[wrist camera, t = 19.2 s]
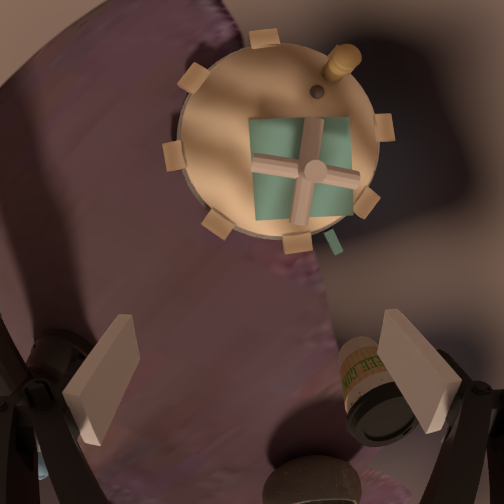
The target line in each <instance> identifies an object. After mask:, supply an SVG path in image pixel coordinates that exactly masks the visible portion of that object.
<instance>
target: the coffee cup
mask: <svg viewBox="0 0 504 504" xmlns="http://www.w3.org/2000/svg"><path fill="white" fill-rule="evenodd" d="M377 350H378V344H377V343H376V342H375V341H374V340H373V339H372V338H370V337H367V336H358V337H354V338H352V339H350V340H349V341H347V342H346V343H345V344H344V345H343V346H342V347H341V349H340V351H339V354H338V360H339V365H340V377H341V384H342V390H343V397H344V403H345V410H346V412H347V416H346V421H345V424H346V428H347V430H348V432H349V434H350V435H351V436H352V437H353V438H354V439H356V440H357V441H358V442H359V443H361V444H362V445H365V446H369V447H380V446H385V445H389V444H391V443H394V442H396V441H398V440H400V439H402V438H403V437H405V436H406V435H408V434H409V433H410V432H411V431H412V430H413V429H414V428H415V427H416V426H417V425H418V424H419V421H418V419H417V418H416V416H415V414H414V413H413V411H412V409H411V408H410V406H409V404H408V403H407V401H406V399H405V398H404V396H403V394H402V393H401V391H400V389H399V388H398V386H397V385H396V383H395V381H394V380H393V378H392V376H391V375H390V373H389V372H388V370H387V368H386V367H385V365H384V364H383V362H382V360H381V359H380V357H379V356H378V354H377Z"/></svg>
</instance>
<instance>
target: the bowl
mask: <svg viewBox="0 0 504 504" xmlns="http://www.w3.org/2000/svg"><path fill="white" fill-rule="evenodd" d="M361 494H362V489H361V482H360V478H359V476H358V474H357V472H356V471H355V469H354V468H353V467H352V466H351V465H350V464H349V463H347V462H346V461H344V460H341V459H338V458H335V457H331V456H325V455H308V456H303V457H299V458H296V459H293V460H291V461H288V462H287V463H285V464H283V465H281V466H280V467H278V468H277V469H276V470H275V471H273V472H272V473H271V474H270V476H269V477H268V479H267V480H266V482H265V484H264V487H263V493H262V499H263V504H359V502H360V500H361Z"/></svg>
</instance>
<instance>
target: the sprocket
mask: <svg viewBox="0 0 504 504" xmlns="http://www.w3.org/2000/svg"><path fill="white" fill-rule="evenodd" d="M248 33H249V41H250V46H251V47H250V48H247V49H244V50H241V51H239V52H237V53H235V54H233V55H230V56H229V57H227V58H225V59H224V60H222V61H221V62H219V63H218V64H217V65H216V66H214V67H213V68H212V69H211V70H210V71H209V70H207V69H206V68H204V67H202V66H200V65H199V64H197V63H195V62H194V63H193V64H192V65H191V66H190V68H189V69H188V70H187V72H186V73H185V74H184V76H183V77H182V78H181V80H180V81H179V82H178V84H177V85H178V86H180V87H181V88H182V89H184V90H185V91H187V92H189V93H190V94H192V95H191V97H190V99H189V101H188V103H187V106H186V109H185V112H184V115H183V120H182V126H181V140H177V141H173V142H168V143H164V144H163V150H164V156H165V162H166V168H167V172H169V171H174V170H179V169H184V168H186V170H187V173H188V176H189V178H190V180H191V182H192V184H193V185H194V187H195V189H196V191H197V192H198V193H199V195H200V196H201V197H202V199H203V200H204V201H205V202H206V203H207V204H208V205H209V206H210V207H211V208H212V209H211V210H210V212H209V213H208V214H207V216H206V217H205V219H204V220H203V222H202V223H201V224H202V225H203V226H205V227H206V228H207V229H209V230H210V231H212V232H213V233H215V234H216V235H217V236H219V237H220V238H222V239H223V240H225V239H226V237H227V236H228V235H229V233H230V232H231V230H232V229H233V228H234V226H235V225H236V226H238V227H240V228H243V229H245V230H248V231H251V232H254V233H258V234H263V235H269V236H282V242H283V250H284V253H285V254H291V253H297V252H304V251H310V250H313V249H312V240H311V232H312V231H315V230H318V229H321V228H323V227H325V226H327V225H329V224H331V223H333V222H334V221H336V220H337V219H339V218H340V217H341V216H347V215H353V212H355V213H356V214H357V215H358V216H359V217H361V218H363V219H365V218H366V217H367V215H368V214H369V213H370V211H371V210H372V209H373V207H374V206H375V205H376V203H377V202H378V201H379V199H380V197H379V196H378V195H377V194H376V193H375V192H373V191H372V190H371V189H370V188H369V187H368V184H369V182H370V180H371V178H372V176H373V172H374V169H375V166H376V162H377V157H378V147H379V142H383V141H395V137H394V129H393V123H392V116H391V114H374V111H373V108H372V106H371V103H370V101H369V99H368V97H367V95H366V93H365V92H364V90H363V89H362V87H361V86H360V85H359V83H358V82H357V81H356V80H355V78H354V77H353V76H352V75H351V74H350V73H351V72H352V71H353V69H354V68H355V67H356V66H357V65H358V64H359V63H360V62H361V53H360V51H359V50H358V49H357V48H356V47H355V46H353V45H351V44H342V45H340V46H339V45H336V47H335V48H334V49H333V50H332V51H331V52H330V54H329V55H328V56H325V55H323V54H321V53H319V52H317V51H314V50H312V49H309V48H306V47H301V46H297V45H291V44H280V40H279V35H278V31H277V28H272V29H263V30H255V31H249V32H248ZM307 116H310V117H317V118H321V119H323V120H324V126H323V133H322V140H321V147H320V153H319V160H320V161H322V162H323V163H324V164H326V165H331V166H336V167H341V168H346V169H351V170H356V171H359V172H360V183H359V186H358V188H357V189H356V190H354V189H349V188H344V187H339V186H334V185H328V184H323V183H315V185H314V191H313V197H312V203H311V209H310V215H309V221H308V225H307V226H303V225H296V224H292V223H290V222H289V218H290V212H291V205H292V199H293V193H294V187H295V180H296V179H294V178H288V177H282V176H275V175H269V174H262V173H255V172H251V167H252V160H253V154H254V153H261V154H268V155H274V156H281V157H287V158H293V159H299V155H300V148H301V141H302V134H303V127H304V120H305V117H307Z"/></svg>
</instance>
